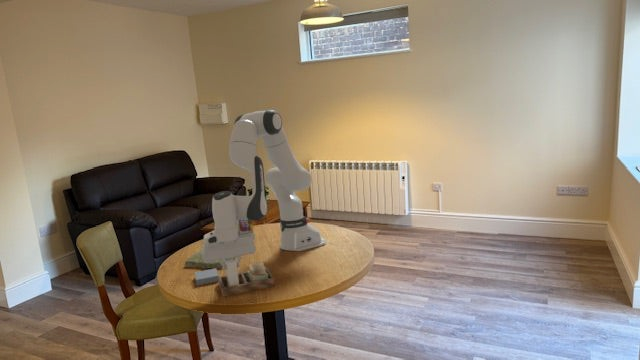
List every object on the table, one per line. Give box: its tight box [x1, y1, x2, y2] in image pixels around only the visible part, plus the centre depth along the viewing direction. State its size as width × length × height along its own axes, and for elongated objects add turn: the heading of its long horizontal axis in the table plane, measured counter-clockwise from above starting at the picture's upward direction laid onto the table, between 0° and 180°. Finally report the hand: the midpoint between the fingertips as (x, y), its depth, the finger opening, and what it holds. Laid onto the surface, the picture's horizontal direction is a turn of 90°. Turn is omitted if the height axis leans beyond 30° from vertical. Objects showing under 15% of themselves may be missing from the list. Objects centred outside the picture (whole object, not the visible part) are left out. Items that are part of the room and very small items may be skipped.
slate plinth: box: [194, 268, 220, 287], centre depth 189 cm, size 9×9×2 cm
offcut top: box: [249, 262, 266, 277], centre depth 181 cm, size 6×8×2 cm
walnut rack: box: [218, 266, 275, 297], centre depth 180 cm, size 20×13×4 cm, turn 109°
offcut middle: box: [247, 270, 268, 282], centre depth 181 cm, size 6×8×2 cm
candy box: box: [236, 220, 255, 234], centre depth 239 cm, size 9×4×15 cm, turn 140°
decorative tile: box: [183, 249, 237, 270], centre depth 211 cm, size 19×20×4 cm
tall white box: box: [225, 257, 240, 287], centre depth 178 cm, size 4×9×12 cm, turn 19°
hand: (231, 268), depth 177 cm, fingers closed on tall white box, 3 cm apart
